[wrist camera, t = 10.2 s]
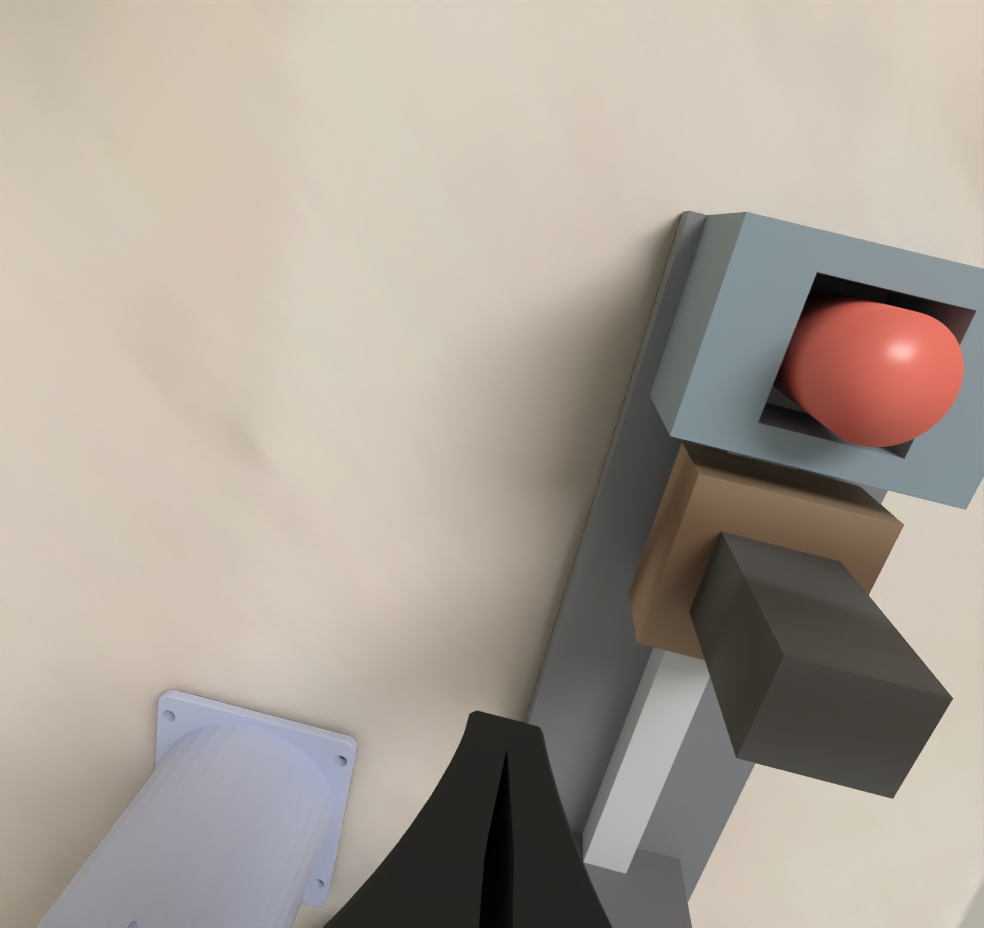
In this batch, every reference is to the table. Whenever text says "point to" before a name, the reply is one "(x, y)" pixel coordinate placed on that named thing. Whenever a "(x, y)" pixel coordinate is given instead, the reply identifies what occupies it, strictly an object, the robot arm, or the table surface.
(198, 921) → the robot arm
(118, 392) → the table surface
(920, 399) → the plunger
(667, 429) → the rail bed
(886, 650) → the carriage
